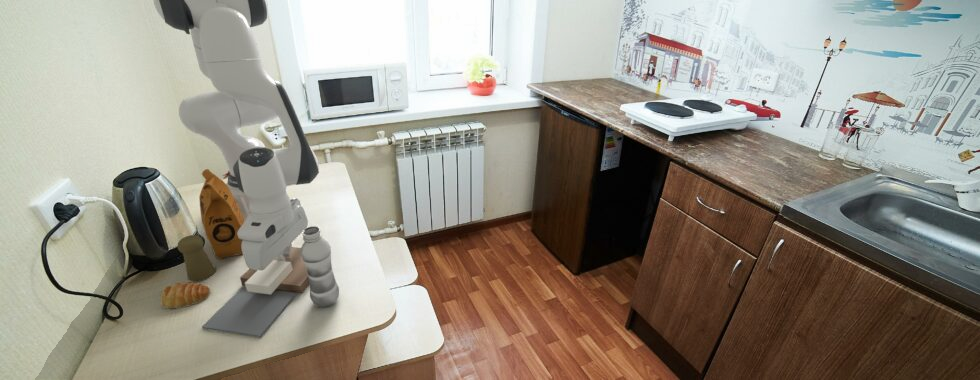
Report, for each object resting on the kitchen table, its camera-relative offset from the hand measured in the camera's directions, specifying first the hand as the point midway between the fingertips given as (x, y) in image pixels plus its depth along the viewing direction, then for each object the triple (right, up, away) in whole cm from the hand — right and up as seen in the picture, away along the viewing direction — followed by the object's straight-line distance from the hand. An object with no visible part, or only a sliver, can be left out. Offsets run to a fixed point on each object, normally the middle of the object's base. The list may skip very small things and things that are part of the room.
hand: (285, 261), depth 106 cm
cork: (-22, -4, +1) cm, 22 cm away
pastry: (-20, -8, -7) cm, 23 cm away
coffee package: (-21, +2, +11) cm, 24 cm away
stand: (0, -3, +2) cm, 4 cm away
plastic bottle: (+13, -8, -7) cm, 17 cm away
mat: (-3, -10, -10) cm, 14 cm away
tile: (-1, -4, -5) cm, 6 cm away
